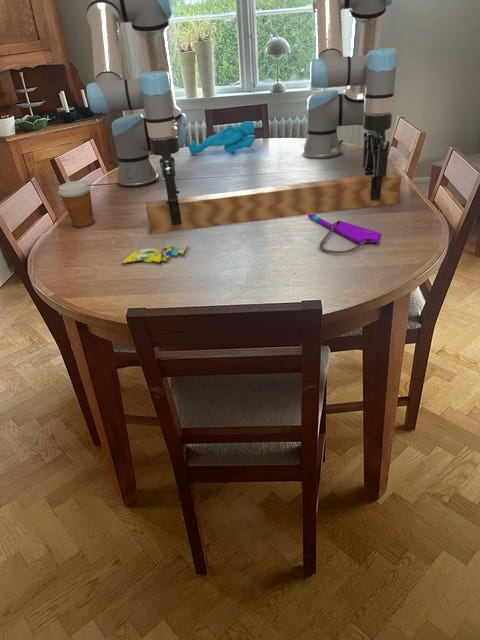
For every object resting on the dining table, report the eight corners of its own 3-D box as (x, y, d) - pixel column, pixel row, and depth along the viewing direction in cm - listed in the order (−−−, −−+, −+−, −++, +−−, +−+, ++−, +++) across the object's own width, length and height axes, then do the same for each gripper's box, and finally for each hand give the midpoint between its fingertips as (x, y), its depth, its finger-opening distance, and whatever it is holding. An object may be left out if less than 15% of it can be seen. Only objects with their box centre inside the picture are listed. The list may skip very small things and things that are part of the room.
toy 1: (178, 260, 119) (121, 261, 122) (179, 264, 120) (122, 264, 122) (187, 243, 128) (133, 244, 130) (187, 246, 128) (134, 247, 131)
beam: (151, 234, 139) (145, 207, 134) (151, 228, 142) (146, 202, 138) (398, 203, 144) (401, 175, 140) (392, 198, 148) (395, 171, 143)
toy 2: (193, 134, 218) (255, 115, 207) (201, 157, 223) (262, 139, 212) (182, 144, 204) (248, 123, 194) (191, 168, 209) (255, 149, 199)
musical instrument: (364, 263, 114) (392, 222, 127) (364, 255, 113) (391, 215, 125) (276, 252, 127) (309, 216, 139) (275, 245, 126) (308, 210, 138)
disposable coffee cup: (61, 227, 148) (50, 189, 141) (80, 216, 155) (71, 179, 149) (86, 230, 145) (76, 191, 138) (105, 218, 152) (96, 180, 145)
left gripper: (178, 143, 120) (190, 230, 133) (176, 128, 135) (187, 208, 147) (148, 146, 119) (163, 233, 132) (149, 131, 134) (163, 211, 147)
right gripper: (405, 117, 124) (396, 204, 137) (378, 106, 139) (372, 185, 152) (377, 120, 124) (370, 207, 136) (353, 109, 139) (349, 188, 151)
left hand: (176, 220), depth 140 cm, fingers open, 5 cm apart
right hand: (371, 195), depth 144 cm, fingers open, 5 cm apart
